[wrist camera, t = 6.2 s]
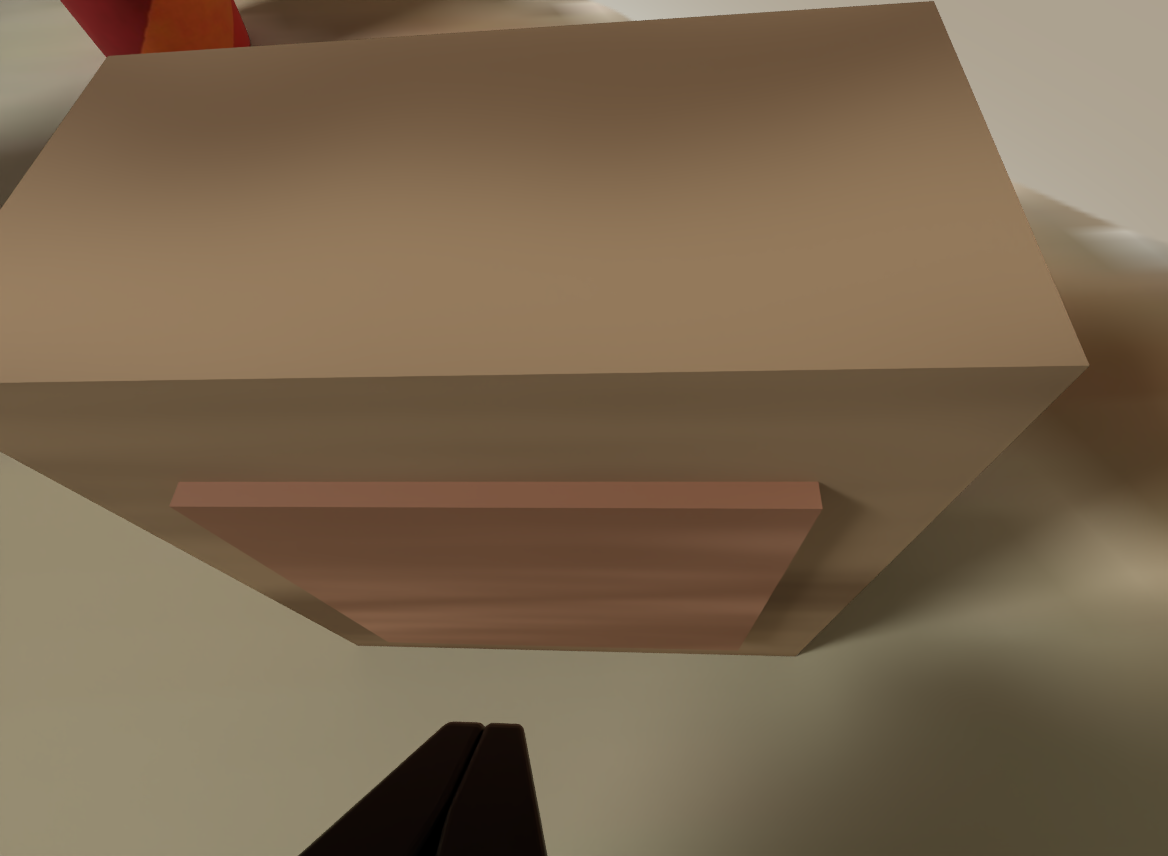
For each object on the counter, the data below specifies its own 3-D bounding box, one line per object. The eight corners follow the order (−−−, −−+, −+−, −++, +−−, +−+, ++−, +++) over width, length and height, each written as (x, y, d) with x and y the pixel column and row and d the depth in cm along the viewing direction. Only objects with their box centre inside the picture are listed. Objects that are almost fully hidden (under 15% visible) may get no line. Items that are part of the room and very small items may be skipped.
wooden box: (797, 670, 14) (1104, 400, 5) (355, 658, 15) (-145, 413, 6) (771, 455, 17) (933, 0, 7) (397, 456, 18) (108, 56, 8)
